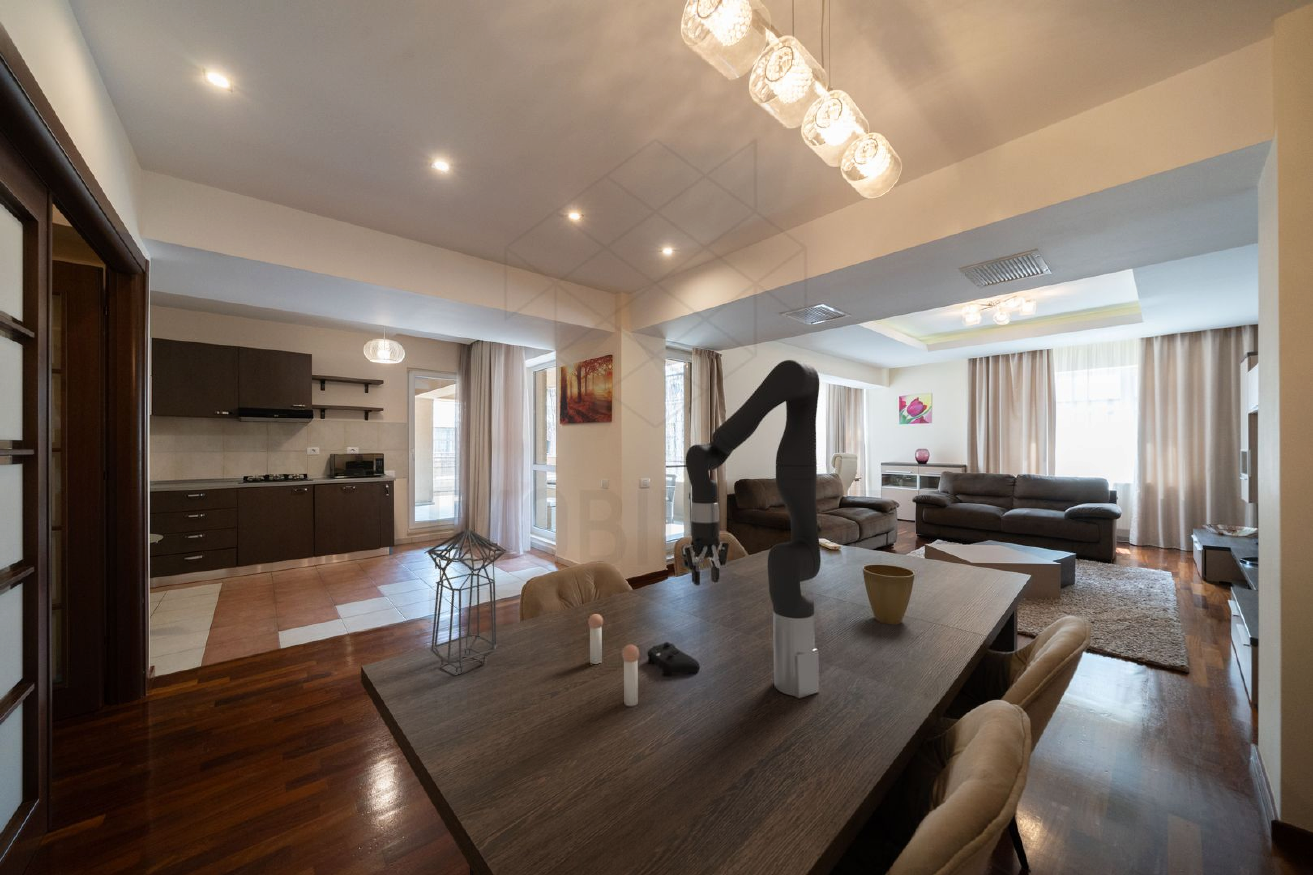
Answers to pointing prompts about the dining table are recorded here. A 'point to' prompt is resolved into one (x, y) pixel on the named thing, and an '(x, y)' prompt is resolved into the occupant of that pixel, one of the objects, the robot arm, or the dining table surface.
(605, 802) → the dining table surface
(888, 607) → the plant pot
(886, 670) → the dining table surface
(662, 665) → the gaming controller
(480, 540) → the geometric lantern
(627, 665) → the posts
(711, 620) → the dining table surface
